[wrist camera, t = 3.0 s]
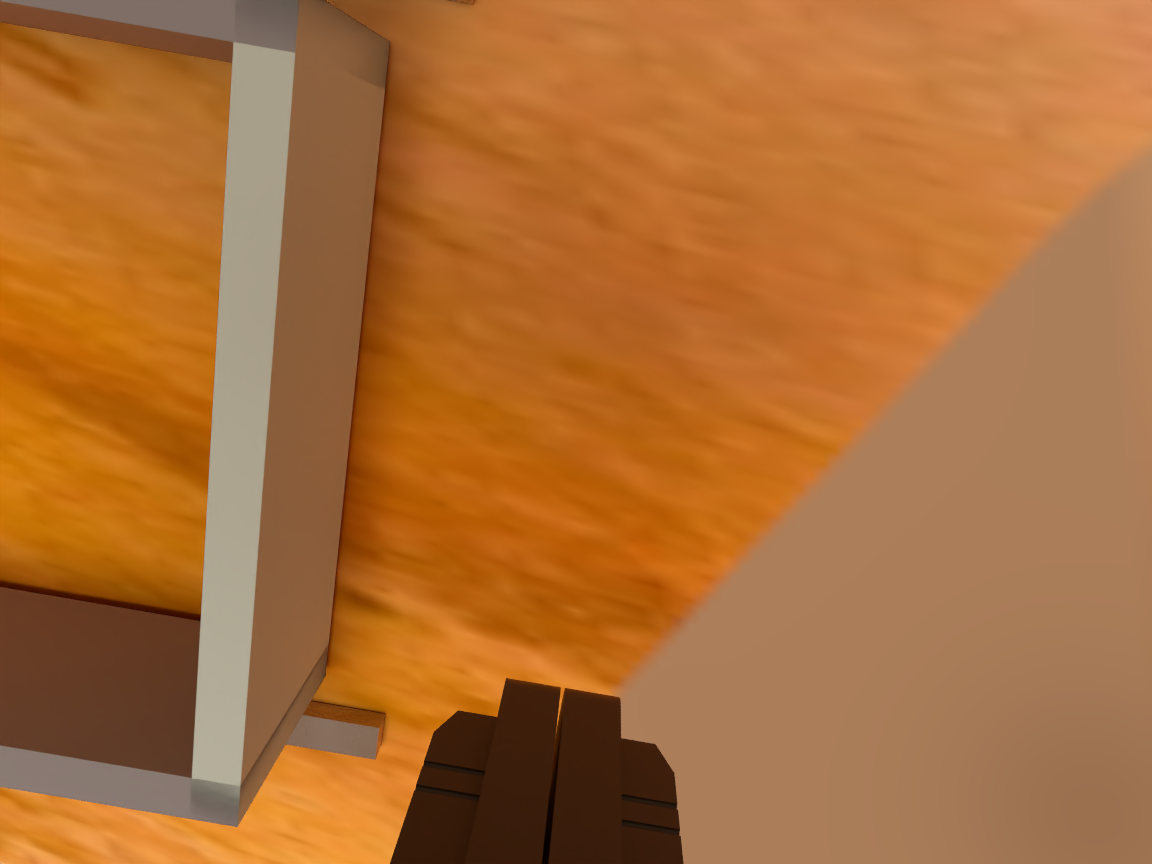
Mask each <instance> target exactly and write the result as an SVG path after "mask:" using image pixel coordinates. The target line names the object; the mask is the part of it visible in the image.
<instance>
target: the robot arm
mask: <svg viewBox="0 0 1152 864" xmlns="http://www.w3.org/2000/svg"><path fill="white" fill-rule="evenodd" d="M559 699H560V687H555V686H549V685H543V684H537V683H532V682H526V681H520V680H514V679H508V678H506V681H505V685H504V690H503V694H502V699H501V703H500V708H499V712H498V717H493V716H487V715H481V714H476V713H470V712H464V711H457V712H456V713H455V714H454V715H453V716H452V717H450V718H449V719H448V720H447V721H446V722H445V723H444V724H442V725H441V726H440V727H439V728H438V729H437V730H436V731H434V733H433V736H432V739H431V742H430V745H429V748H428V751H427V754H426V757H425V760H424V765H423V766H422V769H421V772H420V775H419V778H418V781H417V784H416V789H415V790H414V793H413V796H412V799H411V802H410V805H409V808H408V811H407V814H406V817H405V820H404V823H403V826H402V829H401V832H400V835H399V838H398V841H397V844H396V847H395V850H394V853H393V856H392V859H391V862H390V864H683V855H682V845H681V836H679V831H680V826H679V816H678V810H677V797H676V786H675V777H674V772H673V771H672V769H671V768H670V766H669V765H668V763H667V761H666V760H665V758H664V757H663V755H662V754H661V752H660V751H659V749H658V748H657V746H656V745H655V744H651V743H645V742H639V741H634V740H628V739H622V738H621V703H620V698H619V697H614V696H608V695H602V694H597V693H591V692H585V691H579V690H573V689H568V688H565V690H564V695H563V699H562V704H561V710H560V715H559V721H558V726H557V717H558V708H559ZM556 727H557V731H556ZM555 736H556V737H555Z"/></svg>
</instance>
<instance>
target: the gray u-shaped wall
mask: <svg viewBox="0 0 1152 864" xmlns="http://www.w3.org/2000/svg"><path fill="white" fill-rule="evenodd" d="M0 22H3V23H9V24H14V25H20V26H26V27H32V28H37V29H43V30H49V31H54V32H60V33H66V34H72V35H77V36H83V37H89V38H94V39H100V40H106V41H111V42H117V43H123V44H129V45H134V46H140V47H146V48H151V49H157V50H163V51H169V52H174V53H180V54H186V55H191V56H197V57H203V58H208V59H214V60H220V61H226V62H231V63H232V78H231V96H230V113H229V131H228V148H227V166H226V184H225V201H224V219H223V237H222V254H221V272H220V289H219V307H218V325H217V342H216V360H215V377H214V395H213V413H212V430H211V448H210V466H209V483H208V501H207V518H206V536H205V554H204V571H203V589H202V606H201V621H197V620H191V619H185V618H179V617H173V616H167V615H162V614H156V613H150V612H144V611H138V610H132V609H126V608H121V607H115V606H109V605H103V604H97V603H91V602H86V601H80V600H74V599H68V598H62V597H56V596H50V595H45V594H39V593H33V592H27V591H21V590H15V589H9V588H4V587H0V787H5V788H11V789H17V790H22V791H28V792H34V793H40V794H46V795H52V796H58V797H64V798H70V799H76V800H81V801H87V802H93V803H99V804H105V805H111V806H117V807H123V808H129V809H135V810H141V811H146V812H152V813H158V814H164V815H170V816H176V817H182V818H188V819H194V820H200V821H205V822H211V823H217V824H223V825H229V826H235V827H238V825H239V823H240V822H241V820H242V818H243V816H244V815H245V813H246V811H247V810H248V808H249V806H250V804H251V803H252V801H253V799H254V798H255V796H256V794H257V792H258V791H259V789H260V787H261V786H262V784H263V782H264V780H265V779H266V777H267V775H268V774H269V772H270V770H271V768H272V767H273V765H274V763H275V762H276V760H277V758H278V756H279V755H280V753H281V751H282V750H283V748H284V746H285V744H286V743H287V741H288V739H289V738H290V736H291V734H292V732H293V731H294V729H295V727H296V725H297V724H298V722H299V720H300V719H301V717H302V715H303V713H304V712H305V710H306V708H307V707H308V705H309V703H310V701H311V700H312V698H313V696H314V695H315V693H316V691H317V689H318V688H319V686H320V684H321V683H322V681H323V679H324V677H325V675H326V665H327V656H328V646H329V636H330V626H331V616H332V606H333V597H334V587H335V577H336V567H337V557H338V547H339V538H340V528H341V518H342V508H343V498H344V488H345V479H346V469H347V459H348V449H349V439H350V429H351V420H352V410H353V400H354V390H355V380H356V371H357V361H358V351H359V341H360V331H361V321H362V312H363V302H364V292H365V282H366V272H367V262H368V253H369V243H370V233H371V223H372V213H373V203H374V194H375V184H376V174H377V164H378V154H379V144H380V135H381V125H382V115H383V105H384V95H385V85H386V76H387V66H388V56H389V46H390V41H388V40H387V39H385V38H383V37H382V36H380V35H379V34H377V33H375V32H374V31H372V30H371V29H369V28H368V27H366V26H364V25H363V24H361V23H360V22H358V21H356V20H355V19H353V18H352V17H350V16H349V15H347V14H345V13H344V12H342V11H341V10H339V9H337V8H336V7H334V6H333V5H331V4H329V3H328V2H326V1H325V0H0Z"/></svg>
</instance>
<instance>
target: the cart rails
mask: <svg viewBox="0 0 1152 864" xmlns="http://www.w3.org/2000/svg"><path fill="white" fill-rule="evenodd" d="M450 1H456V2H461V3H467V4H473V5H474V0H450ZM384 720H385V714H383V713H378V712H372V711H366V710H360V709H354V708H348V707H342V706H337V705H331V704H325V703H319V702H313V701H310V703H309V705H308V707H307V708H306V710H305V712H304V713H303V715H302V717H301V719H300V720H299V722H298V724H297V725H296V727H295V729H294V731H293V732H292V734H291V736H290V738H289V739H288V741H287V743H286V744H287V745H293V746H299V747H305V748H310V749H316V750H322V751H328V752H334V753H340V754H346V755H352V756H358V757H363V758H369V759H376V757H377V754H378V752H379V749H380V747H381V744H382V736H383V728H384Z"/></svg>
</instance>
